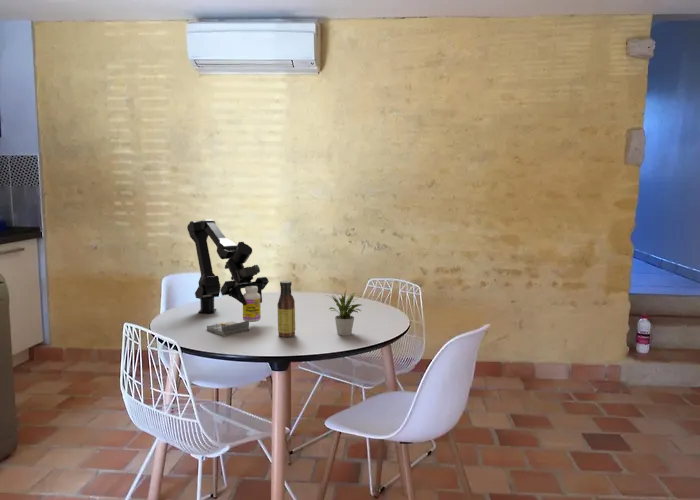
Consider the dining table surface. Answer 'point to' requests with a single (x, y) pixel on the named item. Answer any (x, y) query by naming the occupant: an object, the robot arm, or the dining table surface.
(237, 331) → the coupler plate
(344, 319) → the house plant
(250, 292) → the supplement bottle
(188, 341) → the dining table surface
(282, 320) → the sauce bottle
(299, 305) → the dining table surface
